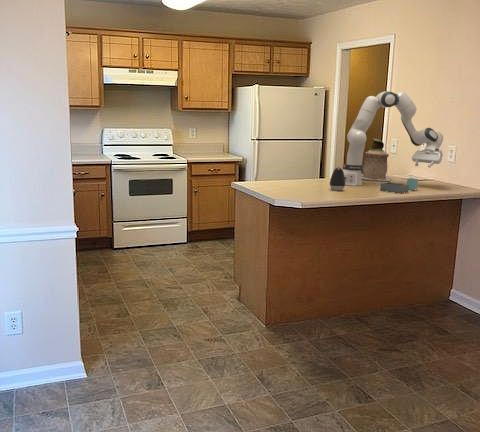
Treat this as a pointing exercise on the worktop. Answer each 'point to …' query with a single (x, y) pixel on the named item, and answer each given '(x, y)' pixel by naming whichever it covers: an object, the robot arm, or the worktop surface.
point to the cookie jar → (375, 162)
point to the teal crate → (412, 183)
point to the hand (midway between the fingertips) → (422, 166)
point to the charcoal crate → (394, 187)
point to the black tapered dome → (337, 180)
